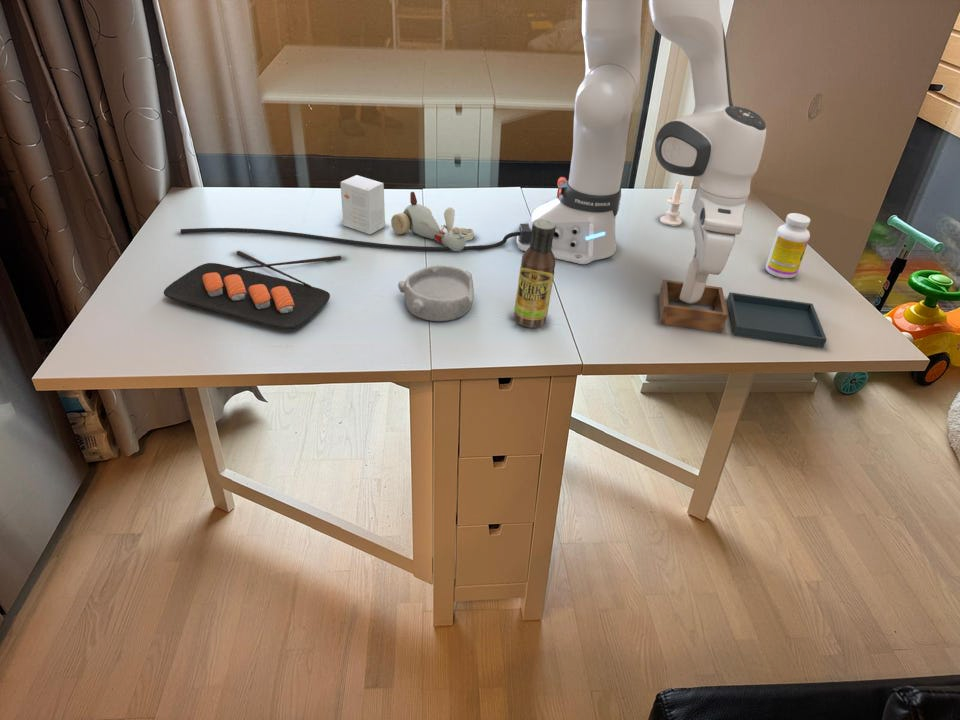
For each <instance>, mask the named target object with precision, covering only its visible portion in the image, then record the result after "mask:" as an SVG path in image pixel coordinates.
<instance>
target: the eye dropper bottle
mask: <svg viewBox="0 0 960 720" xmlns="http://www.w3.org/2000/svg"><path fill="white" fill-rule="evenodd" d="M698 269H699V261H698V255H696V258H694V259H693V258H692V260H691V261H690V263H689V264H688V267H687V270H686V274H685V277H684V280H683V282H684V283H683V287H682V290H681V294H680V300H682V301H684V302H683V303H686V304H695V302H697V301H699V300H700V299H701V297H702V295H703V292H704V289H705V286H706V285H707V283H708V279H709V275H710V274H708V276H707V279H706V282H705V283H700V282H697V281H696V277H695V276H696V273H697V270H698Z"/></svg>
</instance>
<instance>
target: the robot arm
mask: <svg viewBox="0 0 960 720" xmlns="http://www.w3.org/2000/svg"><path fill="white" fill-rule="evenodd" d="M647 3H648V10H649V14H650V18H651V22H652V26H653V27H654V29H655V30H656V31H657V33H659V35H660V36H662V37H663V38H664V39H666V40H668V41H670V42H671V43H674V44H675V45H677V46H678V48H680V49H681V50H682V51H683V52H684V53H685V54H686V56H687V58H688V61H689V64H690V71H691V78H692V87H693V97H694V108H693V109H694V110H693V112H692V114H686V115H684V116H681V117H678V118H675V119H672V120H670V121H669V122H666V123H665V124H664V125H662V127H661V128H660V129H659V130H658V132H657V134H656V137H655V142H654V152H655V156H656V159H657V162H658V163H659V164H660V166H661V167H662V168H663V169H664V170H665V171H667V172H669V173H671V174H675V175H680V176H685V177H695V178H698V184H697V188H696V191H695V194H694V199H693V202H692V205H691V210H692V212H693V213H694V214H695V215H694V218H693V222H692V232H693V237H694V242H695V246H694V253H693V258H692V260H693V259H694V258H696V255H698V261H699V269H698V270H697V273H696V276H695V277H696V281H697V282H700V283H705V282H706V279H707V276H708V274H709V275H714V276H719V275H720V274H721V273H723V271H724V269H725V267H726V265H727V262H728V260H729V258H730V255H731V252H732V250H733V247H734V244H735V241H736V236H737V235H741V233H742V230H743V227H744V213H745V211H746V208H747V203H748V200H749V197H750V193H751V184H752V180H753V178H754V176H755V174H756V173H757V172H758V169H759V166H760V163H761V161H762V155H763V152H764V147H765V143H766V138H767V124H766V122H765V120H764V119H763V118H762V117H761V115H759V114H758V113H757V112H755V111H753V110H751V109H749V108H746V107H741V106H734V104H733V99H732V89H731V82H730V81H731V80H730V71H729V59H728V57H729V56H728V49H727V47H728V46H727V40H726V34H725V28H724V23H723V20H722V14H721V7H720V0H648V2H647ZM642 11H643V0H581V34H582V40H583V49H584V62H585V63H584V64H585V73H584V78H583V80H582V82H580V84H579V86H578V88H577V91H576V93H575V101H574V111H573V113H574V114H573V131H572V132H573V134H572V137H573V138H572V141H573V142H572V152H571V160H570V168H569V174H568V180H567V178H566V177H565V176H559V178H558V179H557V183H556V185H557V193H556V196H555V197H553V198H552V199H550V200H548V201H546V202H544V203H542V204H540V205H539V206H537V207H536V208H534V210H533V212H532V214H531V215H530V217H529V220H528V222H526V223H519V227H518V231H514V232H510V233H508V234H506V235H504V237H503V239H502V240H500V241H498V242H496V243H492V244H482V245H481V244H480V245H465V247H464V248H463V249H462V250H460V251H459V252H463V251H464V252H465V251H479V250H489V249H493V248H497V247H501V246H503V245H505V244H506V243H507V241H508V240H509V239H510V238H514V237H516V240H515V242H516V243H515V244H516V246H517V248H518V249H519V250H520V251H523V252H526V250H527V249H528V248H529V247H530V243H531V238H532V225H533V222H534V221H535V220H538V219H546V220H550V221H552V222H554V223H555V225H556V229H555V233H554V235H553V241H552V249H551V250H552V252H553V254H554V257H555V260H556V259H557V260H560V261H565V262H569V263H570V262H571V263H575V264H579V265H587V264H589V263H592V262H594V261H599V260H604V259H608V258H610V257H612V256H613V255H614V254H615V253H616V252H617V242H616V220H617V215H618V212H619V209H620V204H621V199H622V187H621V184H622V178H623V173H624V167H625V162H626V157H627V148H628V147H627V146H628V137H629V129H630V124H631V123H630V122H631V118H632V112H633V108H634V106H635V103H636V100H637V99H638V97H639V94H640V89H641V68H642V67H641V65H642V44H641V43H642V42H641V41H642V38H641V36H642V33H641V30H642V13H643V12H642ZM198 233H245V234H261V235H262V234H263V235H274V236H275V235H276V236H284V237H292V238H293V237H294V238H303V239H309V240H317V241H324V242H331V243H340V244H347V245H354V246H362V247H371V248H379V249H380V248H381V249H390V250H401V251H403V250H404V251H419V252H420V251H421V252H425V251H426V252H454V251H453V250H451V249H450V248H449V247H446V246H423V245H422V246H421V245H420V246H419V245H403V244H392V243H391V244H389V243H379V242H371V241H362V240H355V239H348V238H347V239H346V238H339V237H333V236H332V237H331V236H324V235H319V234H318V235H317V234H312V233H311V234H310V233H303V232H292V231H286V230H285V231H284V230H275V229H264V228H263V229H260V228H248V227H247V228H246V227H199V228H198V227H197V228H196V227H195V228H180V234H198ZM708 277H709V276H708ZM707 280H708V279H707ZM706 283H707V282H706Z"/></svg>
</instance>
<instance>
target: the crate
mask: <svg viewBox="0 0 960 720" xmlns="http://www.w3.org/2000/svg"><path fill="white" fill-rule="evenodd" d="M683 283H684V281H678V280H670V279H662V281H661V286H660V290H659V295H658V307H659V308H658V309H659V311H658V312H659V324H660V325H666V326H672V327H679V328H684V329H685V328H687V329H693V330H699V331H706V332H707V331H708V332H714V333H720V334H723V331H724V329H725V325H726V321H727V320H728V314H729V313H728V310H727V303H726V299H725V295H724V290H723V287H721V286H720V287H719V286H714V285H707V284H706V286H705V289H704V292H703V295H702V297H701V299H700V300H699V301H697V302H695V303H694V304H696V305H703V306H708V307H709V306H710V307H713V310H710V309H702V308H696V307H688V306H683V305H682V306H681V305H675V304H669V301H675V302H679V303H681V302H682V303H685V302H684V301H682V300H680V294H681V290H682V287H683Z"/></svg>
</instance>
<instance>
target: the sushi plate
mask: <svg viewBox="0 0 960 720" xmlns="http://www.w3.org/2000/svg"><path fill="white" fill-rule="evenodd" d="M236 254H237V255H238V256H240V257H242V258H245V259H247V260H249V261H251V262H254V263H256V264H257V265H248V266H247V265H246V266H238V267H236V266H231V265H227V264H223V263H216V262H207V263H202V264H200V265H198V266H197V267H194V268H193V269H191V270H190V271H188V272H186V273H185V274H183V275H182V276H180V277H179V278H178V279H176V280H174V281H173V282H171V283H170V284H169V285H167V286H166V287H165V289H164V290H163V295H164V296H165V297H166V298H168V299H171V300H173V301H176V302H180V303H183V304H187V305H191V306H194V307H198V308H201V309H202V308H203V309H206V310H209V311H213V312H217V313H220V314H224V315H229V316H231V317H236V318H239V319H243V320H247V321H251V322H254V323H258V324H262V325H266V326H269V327H272V328H273V327H274V328H279V329H284V330H292V329H293V330H294V329H296V328H299V327H301V326H302V325H304V324H305V323H306V322H308V321H309V320H310V319H311V318H312V317H314V315H316V314H317V313H318V312H319V311H320V310H321V309H322V308H323V307H324V306H325V305H326V304H327V303H328V301H330V298H331V294H330V292H328V291H327V290H325V289H322V288H319V287H315V286H312V285H310V284H308V283H306V282H304V281H302V280H300V279H299V278H296V277H294V276H291V275H290V274H287V273H286V272H284V271H282V270H279V269H277V268H276V267H274V266H285V265H296V264H307V263H309V264H310V263H318V262H319V263H320V262H328V261H337V260H338V261H339V260H342V256H341V255H337V256H336V255H335V256H334V255H333V256H326V257H325V256H324V257H316V258H308V259H301V260H292V261H291V260H290V261H283V262H275V263H274V262H273V263H265V262H263V261H261V260H260V259H257V258H255V257H253V256H251V255H249V254H247V253H245V252H243V251H241V250H236ZM256 268H266V269H270V270H272V271H274V272H275V273H279V274H281V275H283V276H285V277H287V278H289V279H290V280H288V279H284V278H279V277H276V276H272V275H268V274H263V273H260V272H257V271H251V270H248V269H256ZM292 280H294V281H292Z"/></svg>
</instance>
